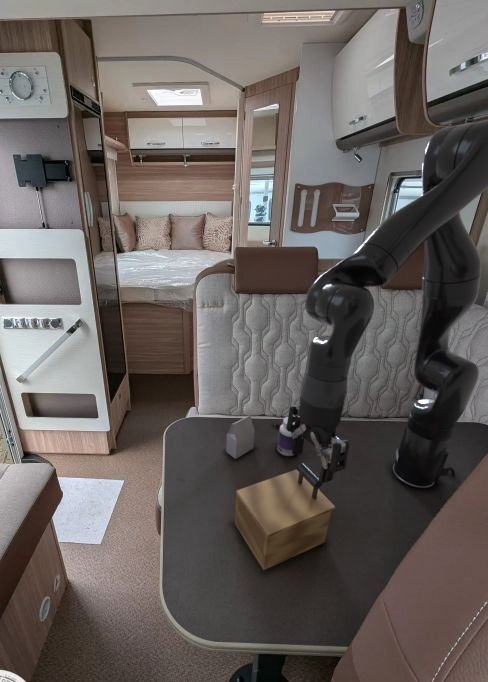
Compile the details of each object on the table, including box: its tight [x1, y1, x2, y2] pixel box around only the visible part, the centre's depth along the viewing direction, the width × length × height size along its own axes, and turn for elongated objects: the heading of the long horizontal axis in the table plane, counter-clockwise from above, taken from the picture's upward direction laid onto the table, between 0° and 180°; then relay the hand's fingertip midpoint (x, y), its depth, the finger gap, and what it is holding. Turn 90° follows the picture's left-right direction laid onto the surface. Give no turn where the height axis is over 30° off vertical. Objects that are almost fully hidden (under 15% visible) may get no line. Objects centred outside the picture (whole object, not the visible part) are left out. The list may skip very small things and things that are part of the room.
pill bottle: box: [276, 416, 295, 457], centre depth 97 cm, size 5×5×10 cm
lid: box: [235, 462, 336, 538], centre depth 71 cm, size 15×12×6 cm
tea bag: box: [225, 414, 255, 460], centre depth 97 cm, size 4×7×10 cm, turn 131°
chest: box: [234, 493, 332, 571], centre depth 74 cm, size 15×12×9 cm
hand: (310, 466), depth 71 cm, fingers open, 8 cm apart
